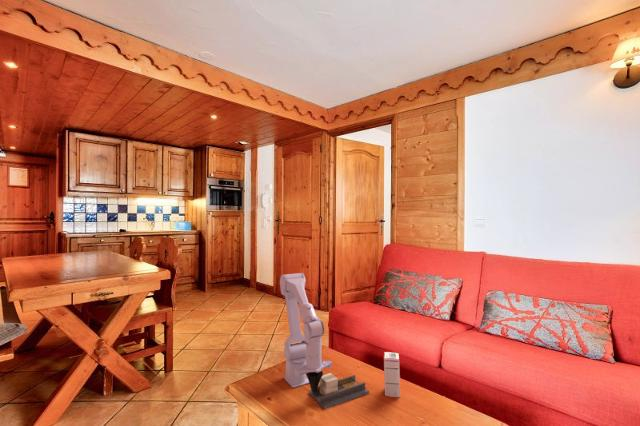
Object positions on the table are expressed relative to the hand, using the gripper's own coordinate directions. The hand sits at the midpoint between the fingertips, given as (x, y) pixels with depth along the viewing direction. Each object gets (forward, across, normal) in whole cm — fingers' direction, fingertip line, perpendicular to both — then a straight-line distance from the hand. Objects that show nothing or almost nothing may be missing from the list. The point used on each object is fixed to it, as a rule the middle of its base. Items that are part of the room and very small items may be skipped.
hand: (313, 390), depth 116 cm
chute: (+4, +11, 0) cm, 11 cm away
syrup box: (+4, +29, -10) cm, 31 cm away
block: (+3, +6, 0) cm, 7 cm away
